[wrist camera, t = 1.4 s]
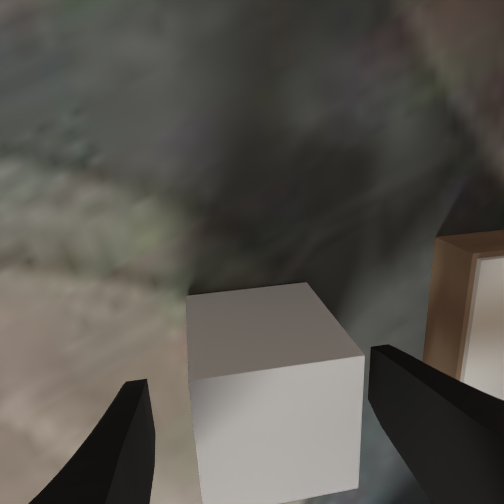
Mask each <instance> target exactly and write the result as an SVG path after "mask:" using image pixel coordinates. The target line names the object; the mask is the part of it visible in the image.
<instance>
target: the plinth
mask: <svg viewBox="0 0 504 504" xmlns="http://www.w3.org/2000/svg"><path fill="white" fill-rule="evenodd" d="M423 362H424V363H426V364H428V365H430V366H431V367H433V368H435V369H437V370H439V371H441V372H443V373H445V374H447V375H449V376H451V377H453V378H455V379H457V380H459V381H461V382H463V383H465V384H467V385H469V386H472V387H474V388H476V389H478V390H480V391H482V392H485V393H487V394H489V395H492V396H494V397H496V398H499V399H502V400H504V230H496V231H487V232H477V233H467V234H458V235H448V236H438V237H435V245H434V255H433V265H432V274H431V284H430V294H429V304H428V314H427V324H426V334H425V343H424V353H423Z"/></svg>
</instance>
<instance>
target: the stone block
mask: <svg viewBox="0 0 504 504" xmlns="http://www.w3.org/2000/svg"><path fill="white" fill-rule="evenodd" d="M186 318H187V354H188V383H189V391H190V400H191V409H192V417H193V426H194V434H195V443H196V451H197V460H198V469H199V477H200V486H201V494H202V503H203V504H280V503H285V502H290V501H295V500H300V499H305V498H310V497H315V496H320V495H325V494H330V493H336V492H341V491H346V490H351V489H356V488H358V480H359V460H360V440H361V420H362V400H363V380H364V361H365V355H364V354H363V353H362V351H361V350H360V349H359V348H358V346H357V345H356V344H355V342H354V341H353V340H352V339H351V337H350V336H349V335H348V334H347V332H346V331H345V330H344V329H343V327H342V326H341V325H340V324H339V322H338V321H337V320H336V319H335V317H334V316H333V315H332V314H331V312H330V311H329V310H328V309H327V307H326V306H325V305H324V304H323V302H322V301H321V300H320V299H319V297H318V296H317V295H316V293H315V292H314V291H313V290H312V288H311V287H310V286H309V285H308V283H307V282H304V283H295V284H286V285H278V286H269V287H260V288H251V289H242V290H233V291H224V292H216V293H207V294H198V295H189V296H186Z"/></svg>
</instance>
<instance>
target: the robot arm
mask: <svg viewBox="0 0 504 504" xmlns="http://www.w3.org/2000/svg"><path fill="white" fill-rule="evenodd" d="M368 400H369V402H370V404H371V406H372V408H373V410H374V413H375V415H376V417H377V418H378V420H379V422H380V424H381V426H382V428H383V429H384V431H385V433H386V434H387V436H388V437H389V439H390V440H391V442H392V443H393V445H394V446H395V448H396V449H397V451H398V452H399V454H400V455H401V457H402V458H403V460H404V461H405V463H406V464H407V466H408V467H409V469H410V470H411V472H412V473H413V475H414V476H415V478H416V479H417V481H418V482H419V484H420V485H421V487H422V488H423V490H424V491H425V493H426V495H427V496H428V498H429V499H430V501H431V503H432V504H504V400H502V399H499V398H496V397H494V396H492V395H489V394H487V393H485V392H482V391H480V390H478V389H476V388H474V387H472V386H469V385H467V384H465V383H463V382H461V381H459V380H457V379H455V378H453V377H451V376H449V375H447V374H445V373H443V372H441V371H439V370H437V369H435V368H433V367H431V366H430V365H428V364H426V363H424V362H422V361H420V360H418V359H416V358H414V357H413V356H411V355H409V354H407V353H405V352H403V351H401V350H399V349H397V348H395V347H393V346H391V345H381V346H374V347H371V354H370V371H369V388H368ZM154 466H155V428H154V421H153V415H152V409H151V402H150V396H149V390H148V383H147V379H142V380H135V381H128V382H126V383H125V384H124V385H123V386H122V388H121V389H120V391H119V392H118V394H117V396H116V397H115V399H114V400H113V402H112V403H111V405H110V406H109V408H108V409H107V411H106V412H105V414H104V415H103V417H102V418H101V420H100V421H99V422H98V424H97V425H96V427H95V428H94V429H93V431H92V432H91V434H90V435H89V436H88V438H87V439H86V440H85V441H84V443H83V444H82V445H81V446H80V448H79V449H78V450H77V451H76V453H75V454H74V455H73V456H72V458H71V459H70V460H69V461H68V462H67V464H66V465H65V466H64V467H63V468H62V469H61V471H60V472H59V473H58V474H57V475H56V476H55V477H54V478H53V479H52V480H51V482H50V483H49V484H48V485H47V486H46V487H45V488H44V489H43V490H42V491H41V492H40V493H39V494H38V495H37V496H36V497H35V498H34V499H33V500H32V501H31V502H30V503H29V504H149V503H150V496H151V489H152V481H153V474H154Z"/></svg>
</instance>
